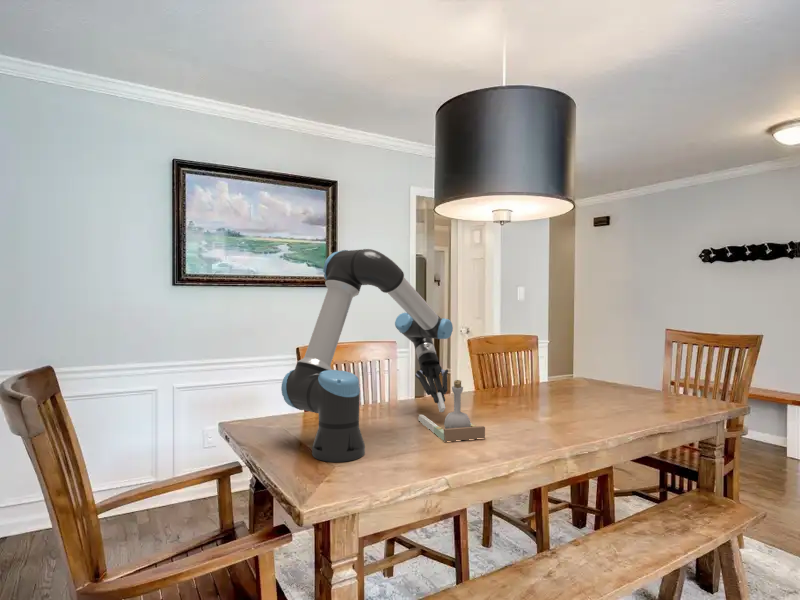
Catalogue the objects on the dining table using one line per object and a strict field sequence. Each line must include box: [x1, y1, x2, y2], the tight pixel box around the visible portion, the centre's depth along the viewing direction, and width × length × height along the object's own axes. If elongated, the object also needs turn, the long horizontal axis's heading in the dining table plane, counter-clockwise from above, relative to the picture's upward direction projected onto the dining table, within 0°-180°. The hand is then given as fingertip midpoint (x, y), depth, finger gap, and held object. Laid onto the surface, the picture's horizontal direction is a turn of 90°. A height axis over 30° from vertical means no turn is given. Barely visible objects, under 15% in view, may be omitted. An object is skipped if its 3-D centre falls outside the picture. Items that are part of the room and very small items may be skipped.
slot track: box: [418, 414, 486, 443], centre depth 165 cm, size 26×14×4 cm, turn 16°
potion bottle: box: [443, 379, 472, 429], centre depth 159 cm, size 9×9×18 cm
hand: (442, 410), depth 172 cm, fingers closed
